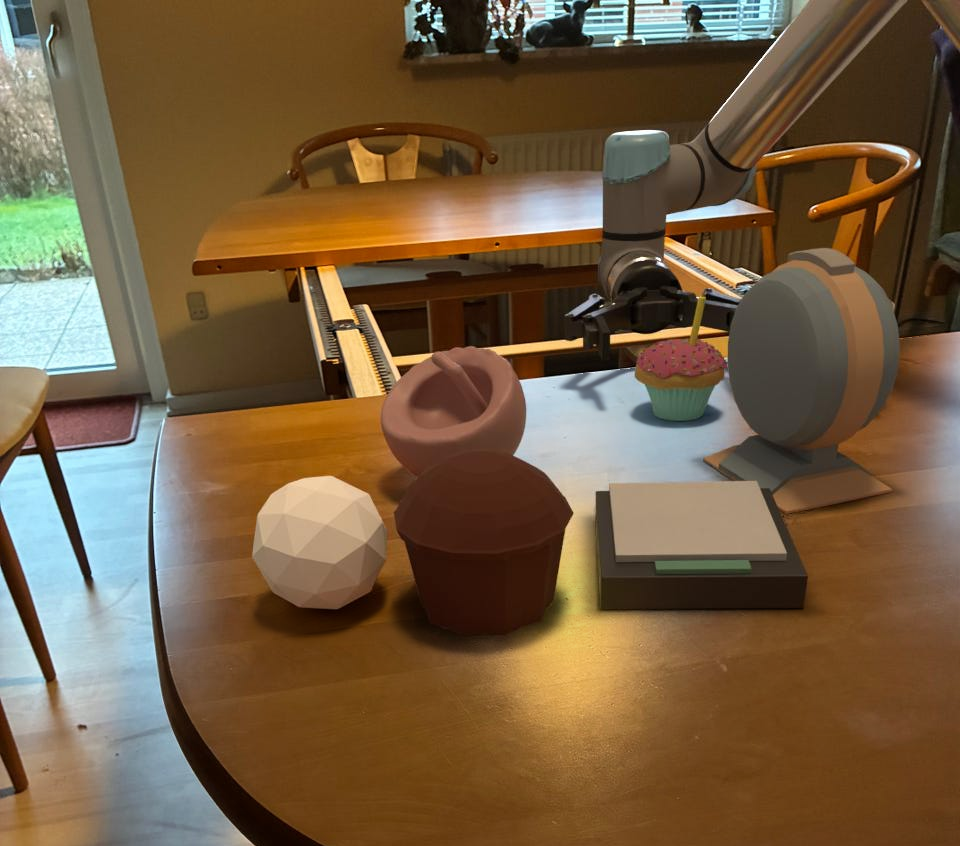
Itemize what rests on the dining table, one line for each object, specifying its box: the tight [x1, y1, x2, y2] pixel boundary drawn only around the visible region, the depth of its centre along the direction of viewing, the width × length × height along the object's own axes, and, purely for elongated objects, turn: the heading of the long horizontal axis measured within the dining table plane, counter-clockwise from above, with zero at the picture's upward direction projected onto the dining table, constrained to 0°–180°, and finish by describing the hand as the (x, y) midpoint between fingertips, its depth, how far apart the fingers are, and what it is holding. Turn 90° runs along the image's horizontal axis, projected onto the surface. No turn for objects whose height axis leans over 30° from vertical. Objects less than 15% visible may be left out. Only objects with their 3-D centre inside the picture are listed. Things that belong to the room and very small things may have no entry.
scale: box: [594, 480, 809, 610], centre depth 69 cm, size 13×14×3 cm
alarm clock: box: [702, 247, 901, 515], centre depth 77 cm, size 14×10×18 cm
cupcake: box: [634, 287, 728, 422], centre depth 92 cm, size 9×8×12 cm
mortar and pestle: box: [380, 345, 527, 478], centre depth 81 cm, size 12×12×12 cm
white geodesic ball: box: [251, 475, 388, 610], centre depth 66 cm, size 9×9×12 cm
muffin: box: [393, 450, 575, 637], centre depth 63 cm, size 12×11×10 cm
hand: (677, 343), depth 94 cm, fingers open, 13 cm apart
